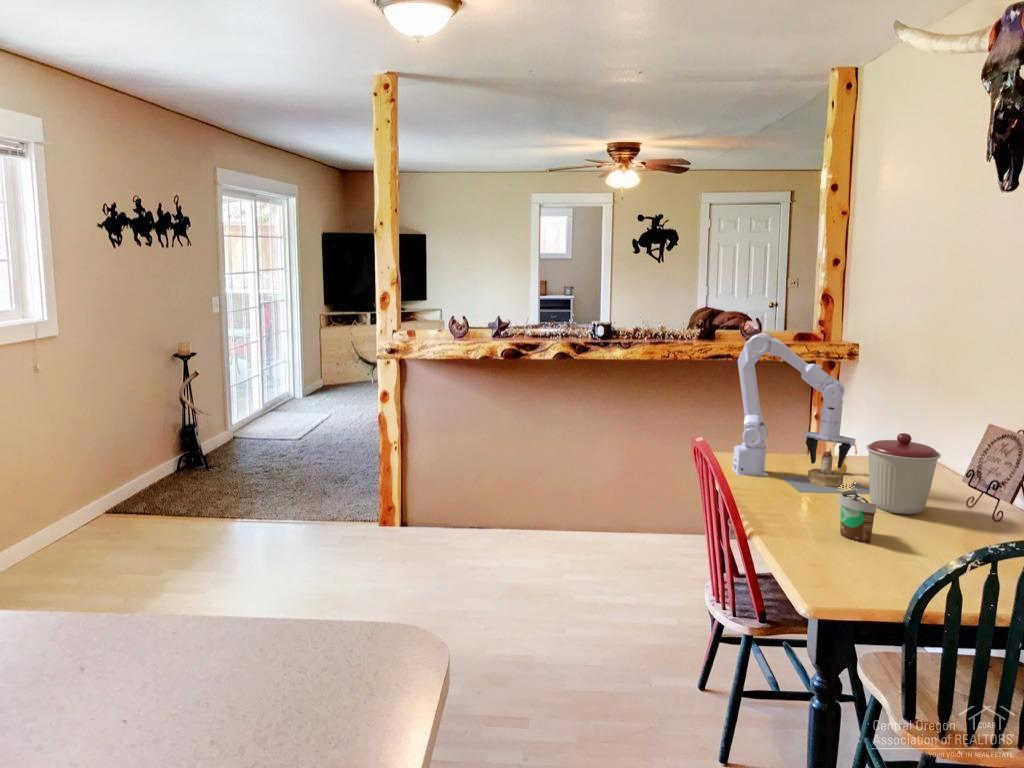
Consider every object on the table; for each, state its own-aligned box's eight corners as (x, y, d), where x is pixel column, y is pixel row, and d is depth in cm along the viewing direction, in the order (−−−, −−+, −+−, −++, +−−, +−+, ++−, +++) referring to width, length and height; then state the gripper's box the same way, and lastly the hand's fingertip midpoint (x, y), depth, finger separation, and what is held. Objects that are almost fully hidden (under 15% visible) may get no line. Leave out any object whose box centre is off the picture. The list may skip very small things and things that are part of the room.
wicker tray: (815, 486, 234) (816, 476, 234) (804, 477, 243) (805, 468, 243) (846, 486, 234) (847, 477, 234) (833, 478, 243) (834, 469, 243)
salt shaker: (822, 483, 237) (824, 452, 236) (818, 480, 240) (820, 450, 239) (831, 483, 237) (834, 452, 236) (827, 481, 240) (830, 450, 239)
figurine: (823, 472, 252) (827, 435, 250) (832, 469, 256) (836, 433, 254) (849, 478, 246) (853, 440, 244) (858, 475, 250) (861, 438, 248)
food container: (827, 527, 198) (830, 488, 197) (852, 528, 198) (855, 489, 197) (846, 544, 186) (850, 503, 185) (872, 545, 186) (876, 504, 184)
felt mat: (799, 493, 227) (799, 492, 227) (779, 477, 244) (779, 476, 244) (875, 495, 227) (875, 494, 227) (849, 479, 244) (850, 478, 244)
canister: (868, 495, 228) (875, 423, 224) (938, 507, 217) (947, 432, 214) (853, 510, 213) (861, 433, 210) (928, 524, 203) (937, 444, 199)
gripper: (801, 419, 237) (797, 463, 239) (852, 426, 228) (848, 472, 230) (808, 416, 242) (804, 459, 245) (858, 423, 234) (854, 467, 236)
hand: (826, 465), depth 238 cm, fingers open, 7 cm apart
